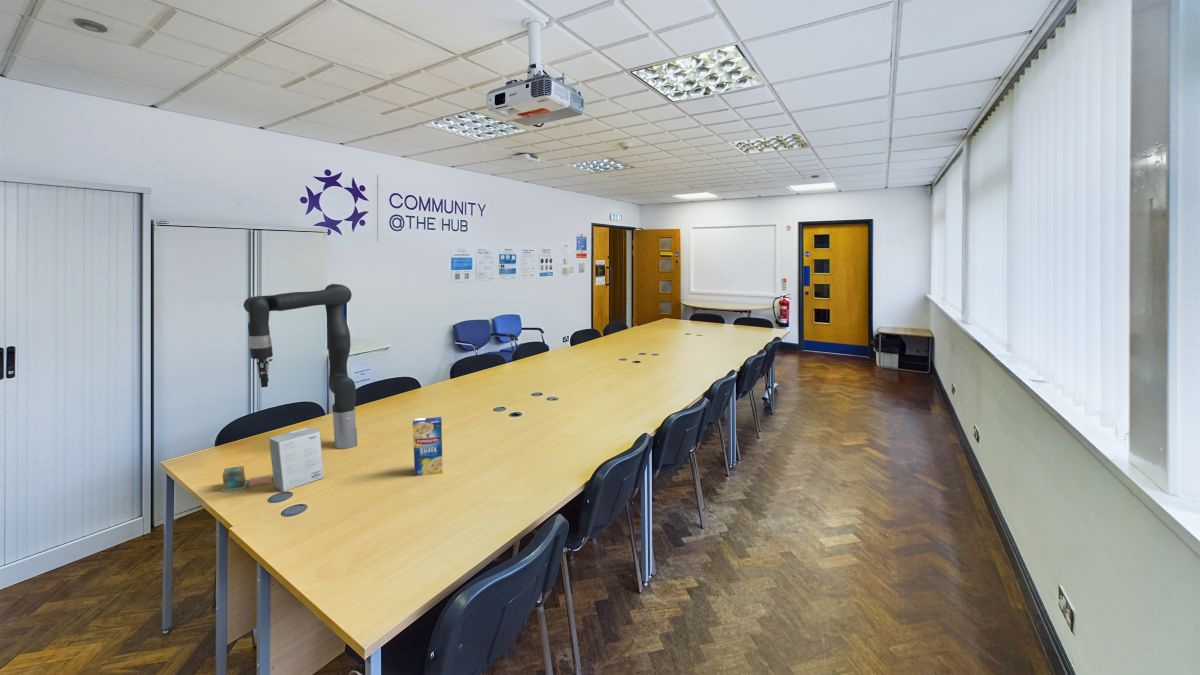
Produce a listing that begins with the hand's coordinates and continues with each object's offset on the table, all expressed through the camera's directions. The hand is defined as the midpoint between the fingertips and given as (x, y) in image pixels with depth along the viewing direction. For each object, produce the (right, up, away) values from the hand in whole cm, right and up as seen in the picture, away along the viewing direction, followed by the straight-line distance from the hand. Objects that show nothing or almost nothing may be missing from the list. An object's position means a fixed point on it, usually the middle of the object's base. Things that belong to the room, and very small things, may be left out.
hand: (265, 384), depth 203 cm
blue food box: (+67, -37, +2) cm, 76 cm away
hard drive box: (+21, -38, -10) cm, 44 cm away
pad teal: (-1, -38, -15) cm, 40 cm away
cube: (-1, -37, -15) cm, 40 cm away
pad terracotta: (+5, -37, -10) cm, 39 cm away
